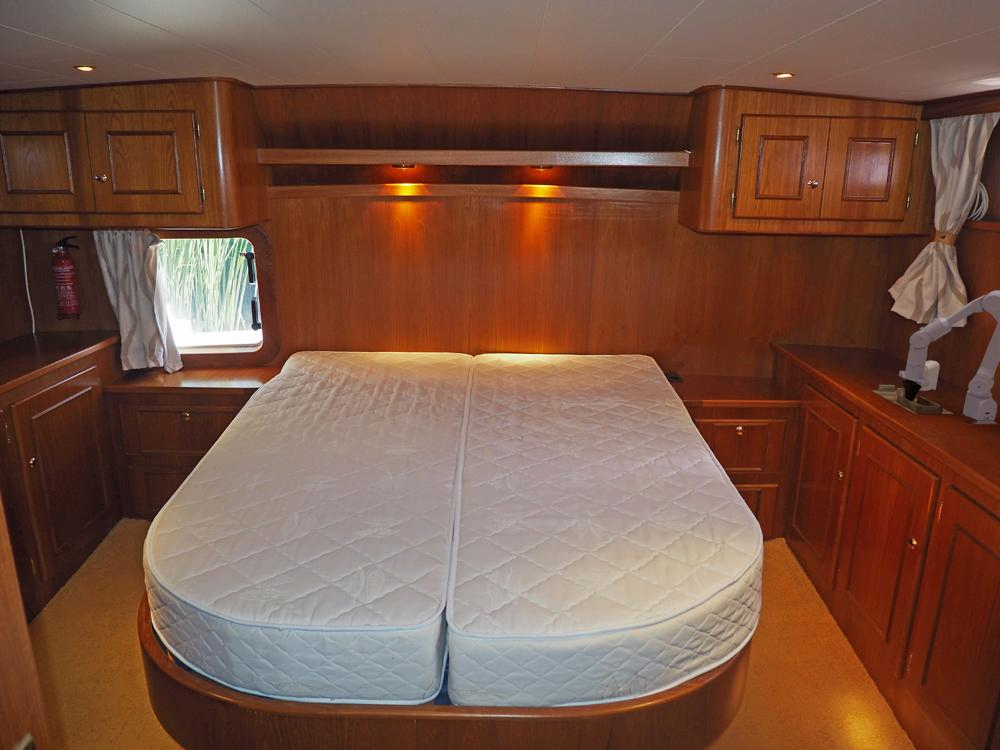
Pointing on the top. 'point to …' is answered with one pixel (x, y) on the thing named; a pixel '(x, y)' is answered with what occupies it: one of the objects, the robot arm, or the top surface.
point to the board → (890, 394)
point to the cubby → (927, 406)
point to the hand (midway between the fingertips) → (909, 400)
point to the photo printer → (931, 375)
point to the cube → (900, 392)
